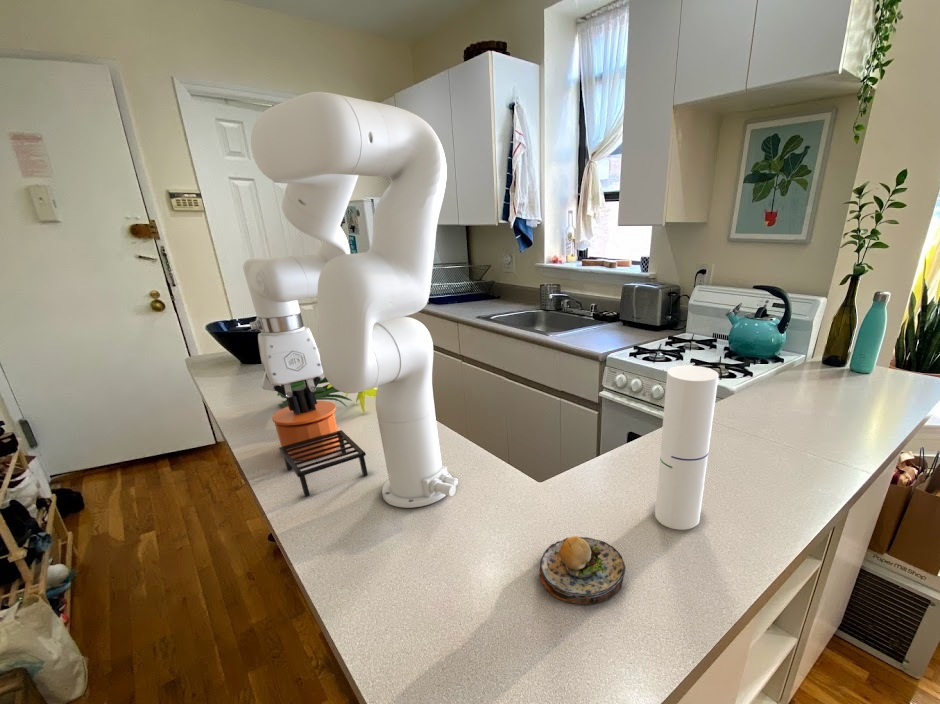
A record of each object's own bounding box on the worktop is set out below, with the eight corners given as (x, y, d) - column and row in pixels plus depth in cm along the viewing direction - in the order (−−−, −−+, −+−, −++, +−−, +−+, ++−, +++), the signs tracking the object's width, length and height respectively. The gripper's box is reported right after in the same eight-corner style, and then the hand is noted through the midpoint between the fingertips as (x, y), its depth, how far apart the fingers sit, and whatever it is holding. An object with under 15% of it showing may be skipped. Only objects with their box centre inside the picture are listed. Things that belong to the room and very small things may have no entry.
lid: (349, 410, 101) (343, 383, 99) (299, 432, 91) (290, 402, 89) (311, 402, 106) (305, 377, 104) (260, 422, 96) (251, 394, 94)
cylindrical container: (691, 535, 72) (711, 384, 62) (648, 520, 76) (660, 375, 66) (704, 511, 78) (724, 369, 68) (663, 499, 81) (676, 362, 71)
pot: (351, 442, 104) (344, 411, 101) (307, 464, 95) (298, 431, 92) (317, 433, 109) (310, 403, 106) (272, 453, 100) (263, 422, 97)
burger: (639, 591, 62) (643, 546, 59) (556, 616, 58) (555, 569, 55) (601, 537, 72) (602, 497, 69) (529, 556, 68) (526, 514, 65)
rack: (370, 475, 91) (365, 452, 89) (304, 498, 84) (297, 474, 82) (346, 450, 100) (341, 429, 98) (285, 469, 93) (278, 447, 91)
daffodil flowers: (318, 392, 137) (411, 371, 123) (296, 433, 129) (393, 416, 115) (271, 354, 125) (367, 326, 111) (243, 397, 117) (344, 373, 103)
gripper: (238, 334, 83) (266, 427, 90) (330, 319, 93) (349, 404, 101) (229, 328, 88) (257, 417, 96) (318, 315, 98) (336, 396, 106)
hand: (304, 409), depth 98 cm, fingers closed on lid, 2 cm apart
